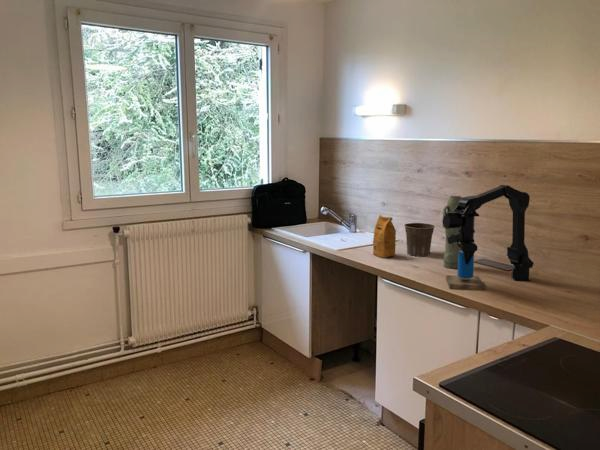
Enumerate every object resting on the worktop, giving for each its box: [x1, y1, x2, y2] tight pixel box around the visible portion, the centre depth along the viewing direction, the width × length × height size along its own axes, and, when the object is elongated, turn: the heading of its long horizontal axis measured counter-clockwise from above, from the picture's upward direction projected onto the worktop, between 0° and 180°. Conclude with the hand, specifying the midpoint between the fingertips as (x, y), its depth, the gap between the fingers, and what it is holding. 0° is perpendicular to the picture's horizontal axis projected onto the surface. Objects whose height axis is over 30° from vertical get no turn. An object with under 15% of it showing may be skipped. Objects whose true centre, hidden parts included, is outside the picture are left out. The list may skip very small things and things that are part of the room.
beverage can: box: [456, 250, 475, 279], centre depth 216 cm, size 6×6×12 cm
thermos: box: [442, 195, 464, 270], centre depth 245 cm, size 9×12×35 cm
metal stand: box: [445, 274, 485, 291], centre depth 217 cm, size 14×14×2 cm
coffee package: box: [372, 214, 397, 259], centre depth 271 cm, size 10×12×22 cm
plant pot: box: [404, 222, 436, 257], centre depth 274 cm, size 16×16×16 cm
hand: (465, 262), depth 216 cm, fingers closed on beverage can, 6 cm apart
